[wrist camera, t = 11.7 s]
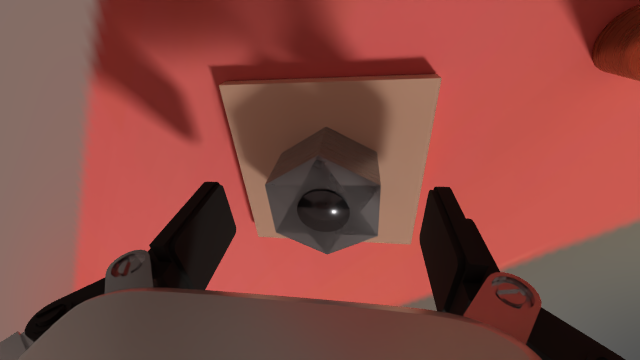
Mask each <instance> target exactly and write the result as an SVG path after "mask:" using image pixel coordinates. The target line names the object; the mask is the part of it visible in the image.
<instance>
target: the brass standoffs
mask: <svg viewBox="0 0 640 360" xmlns="http://www.w3.org/2000/svg"><path fill="white" fill-rule="evenodd" d="M593 61H594V64H595V65H596V67H597V68H598V69H600V70H602V71H604V72H607V73H611V74H615V75H618V76H622V77H626V78H629V79H633V80H637V81H640V5H638V6H636V7H633V8H631V9H629V10H627V11H625V12H623V13H622V14H620V15H619V16H618V17H616V18H615V19H614V20H613V21H612V22H610V23H609V24H608V25H607V26H606V28H605V29H604V30H603V31H602V33H601V34H600V36H599V37H598V39H597V41H596V43H595V45H594V49H593Z"/></svg>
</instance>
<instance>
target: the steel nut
mask: <svg viewBox="0 0 640 360" xmlns="http://www.w3.org/2000/svg"><path fill="white" fill-rule="evenodd" d="M265 188H266V192H267V197H268V201H269V205H270V209H271V214H272V218H273V222H274V226H275V231H276V233H278V234H281V235H283V236H285V237H288V238H290V239H292V240H295V241H297V242H300V243H302V244H304V245H307V246H309V247H311V248H314V249H316V250H318V251H321V252H323V253H325V254H330V253H332V252H335V251H338V250H341V249H343V248H346V247H349V246H352V245H354V244H357V243H360V242H363V241H365V240H368V239H371V238H374V237H376V236H378V227H379V210H380V193H381V182H380V173H379V165H378V157H377V152H376V151H374V150H372V149H370V148H368V147H366V146H364V145H362V144H360V143H358V142H356V141H354V140H352V139H350V138H348V137H346V136H344V135H342V134H340V133H338V132H336V131H334V130H332V129H330V128H328V127H324V128H323V129H321V130H319V131H318V132H316V133H314V134H313V135H311V136H309V137H308V138H306V139H304V140H303V141H301V142H299V143H298V144H296V145H294V146H293V147H291V148H289V149H288V150H286V151H284V152H283V153H281V155H280V157H279V159H278V161H277V163H276V165H275V166H274V168H273V170H272V172H271V174H270V176H269V178H268V180H267V182H266V184H265Z"/></svg>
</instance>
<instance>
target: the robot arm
mask: <svg viewBox="0 0 640 360" xmlns="http://www.w3.org/2000/svg"><path fill="white" fill-rule="evenodd" d="M235 233H236V225H235V222H234V219H233V216H232V213H231V210H230V207H229V203H228V200H227V197H226V194H225V191H224V188H223V186H222V185H220V184H219V183H218V182H204V183H203V184H202V186H201V187H200V188H199V189H198V190H197V191H196V192H195V194H194V195H193V196H192V197H191V198H190V199H189V200H188V202H187V203H186V204H185V205H184V206H183V207H182V208H181V209H180V211H179V212H178V213H177V214H176V215H175V216H174V217H173V219H172V220H171V221H170V222H169V223H168V224H167V225H166V227H165V228H164V229H163V230H162V231H161V232H160V233H159V235H158V236H157V237H156V238H155V239H154V240H153V241H152V243H151V244H150V245H149V246H150V247H151V249H150V250H149V251H148V252H147V251H145V250H134V251H131V252H128V253H126V254H124V255H122V256H120V257H119V258H117V259H116V260H115V261H114V262H113V263H112V264H111V265H110V266H109V267H108V269H107V272H106V277H105V278H103V279H101V280H99V281H97V282H95V283H93V284H90V285H88V286H86V287H84V288H82V289H80V290H78V291H75V292H73V293H71V294H69V295H67V296H65V297H63V298H61V299H58V300H56V301H54V302H52V303H51V304H49V305H47V306H45V307H44V308H43V309H41V310H40V311H39V312H37V313H36V314H35V315H34V316H33V317H32V319H31V320H30V321H29V322H28V324H27V326H26V328H25V332H23V333H21V334H20V333H19V332H16V333H14V334H13V335H11V336H10V337H8V338H7V339H5V340H3V341H2V342H0V360H625V359H623V358H622V357H621V356H619V355H617V354H616V353H614V352H613V351H611V350H609V349H608V348H606V347H605V346H603V345H601V344H600V343H598V342H596V341H595V340H593V339H592V338H590V337H588V336H587V335H585V334H583V333H582V332H580V331H579V330H577V329H575V328H574V327H572V326H570V325H569V324H567V323H566V322H564V321H562V320H561V319H559V318H558V317H556V316H554V315H553V314H551V313H550V312H548V311H546V310H545V309H543V308H541V299H540V297H539V294H538V293H537V292H536V290H535V289H534V288H533V287H532V286H531V285H530V284H529V283H528V282H526V281H525V280H523V279H521V278H520V277H517V276H515V275H512V274H509V273H504V272H500V271H499V269H498V267H497V265H496V263H495V261H494V259H493V257H492V255H491V254H490V252H489V250H488V248H487V246H486V244H485V242H484V240H483V238H482V237H481V235H480V233H479V231H478V229H477V227H476V225H475V223H474V222H473V220H471V219H466V218H465V216H464V214H463V212H462V210H461V208H460V206H459V204H458V202H457V200H456V198H455V196H454V194H453V192H452V190H451V188H450V187H435V188H434V190H430V191H429V194H428V198H427V203H426V208H425V213H424V218H423V222H422V227H421V232H420V245H421V249H422V253H423V257H424V261H425V265H426V269H427V273H428V277H429V281H430V285H431V288H432V292H433V296H434V300H435V304H436V308H437V311H432V310H426V309H417V308H408V307H398V306H389V305H379V304H367V303H356V302H344V301H333V300H322V299H310V298H298V297H286V296H273V295H261V294H249V293H236V292H223V291H210V290H205V289H206V287H207V285H208V283H209V281H210V280H211V278H212V276H213V274H214V272H215V270H216V269H217V267H218V265H219V263H220V261H221V259H222V258H223V256H224V254H225V252H226V250H227V248H228V246H229V245H230V243H231V241H232V239H233V237H234V235H235Z"/></svg>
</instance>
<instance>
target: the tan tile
mask: <svg viewBox="0 0 640 360" xmlns="http://www.w3.org/2000/svg"><path fill="white" fill-rule="evenodd" d="M440 84H441V77H440V76H439V75H438V74H420V75H391V76H362V77H334V78H305V79H276V80H247V81H225V82H224V83H222V84H220V85H219V88H220V92H221V95H222V99H223V103H224V107H225V111H226V114H227V118H228V122H229V126H230V130H231V134H232V137H233V141H234V145H235V149H236V153H237V156H238V160H239V164H240V168H241V172H242V175H243V179H244V183H245V187H246V191H247V195H248V198H249V202H250V206H251V210H252V214H253V217H254V221H255V225H256V229H257V233H258V236H259V237H275V238H288V237H285V236H283V235H281V234H278V233H276V231H275V226H274V222H273V218H272V214H271V209H270V205H269V201H268V197H267V192H266V188H265V184H266V182H267V180H268V178H269V176H270V174H271V172H272V170H273V168H274V166H275V165H276V163H277V161H278V159H279V157H280V155H281V153H283V152H284V151H286V150H288V149H289V148H291V147H293V146H294V145H296V144H298V143H299V142H301V141H303V140H304V139H306V138H308V137H309V136H311V135H313V134H314V133H316V132H318V131H319V130H321V129H323V128H324V127H328V128H330V129H332V130H334V131H336V132H338V133H340V134H342V135H344V136H346V137H348V138H350V139H352V140H354V141H356V142H358V143H360V144H362V145H364V146H366V147H368V148H370V149H372V150H374V151H376V152H377V157H378V165H379V173H380V182H381V193H380V210H379V227H378V236H376V237H374V238H371V239H368V240H365V241H363V242H374V243H394V244H411V240H412V234H413V229H414V224H415V218H416V213H417V207H418V202H419V197H420V191H421V186H422V180H423V175H424V170H425V164H426V159H427V154H428V148H429V143H430V137H431V132H432V127H433V121H434V116H435V111H436V105H437V100H438V94H439V89H440Z"/></svg>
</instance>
